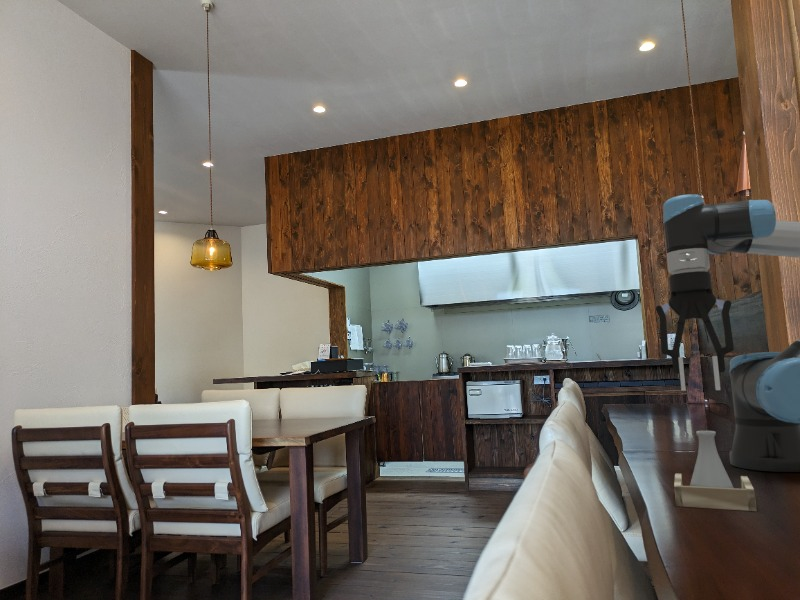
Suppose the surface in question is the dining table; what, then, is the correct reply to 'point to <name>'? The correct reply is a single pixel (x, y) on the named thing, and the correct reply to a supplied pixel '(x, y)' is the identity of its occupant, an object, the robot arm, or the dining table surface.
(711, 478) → the flask
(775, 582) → the dining table surface
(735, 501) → the caddy
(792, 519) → the dining table surface
